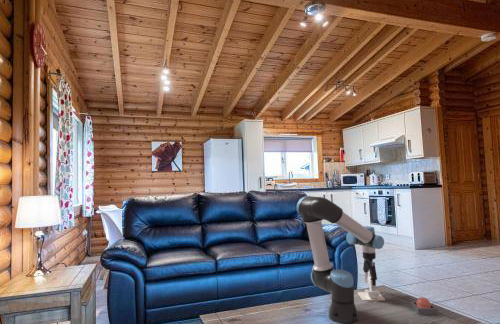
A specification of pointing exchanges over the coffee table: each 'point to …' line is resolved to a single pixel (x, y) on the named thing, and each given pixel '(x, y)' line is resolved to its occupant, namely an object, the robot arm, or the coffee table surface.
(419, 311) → the housing
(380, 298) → the game square
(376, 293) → the white faucet
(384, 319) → the coffee table surface
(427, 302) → the pink ball
